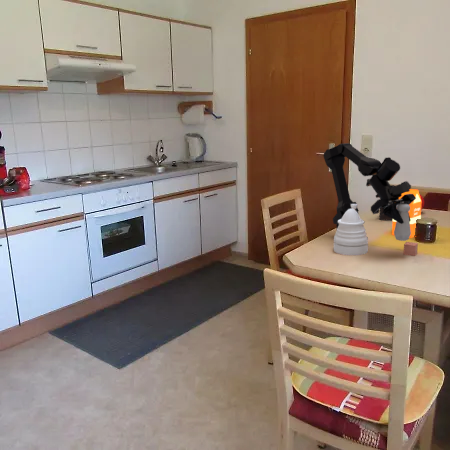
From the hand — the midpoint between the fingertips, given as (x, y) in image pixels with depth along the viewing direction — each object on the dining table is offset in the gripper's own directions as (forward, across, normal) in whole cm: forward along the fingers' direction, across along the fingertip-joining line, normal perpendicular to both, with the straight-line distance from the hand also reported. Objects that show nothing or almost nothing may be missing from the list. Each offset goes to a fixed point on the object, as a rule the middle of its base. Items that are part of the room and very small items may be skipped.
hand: (406, 222), depth 161 cm
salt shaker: (+4, 0, +6) cm, 7 cm away
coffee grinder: (-20, +45, +40) cm, 64 cm away
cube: (+8, +5, +10) cm, 14 cm away
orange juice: (-4, +27, +24) cm, 36 cm away
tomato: (-22, +64, +42) cm, 80 cm away
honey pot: (-3, -8, +22) cm, 24 cm away
